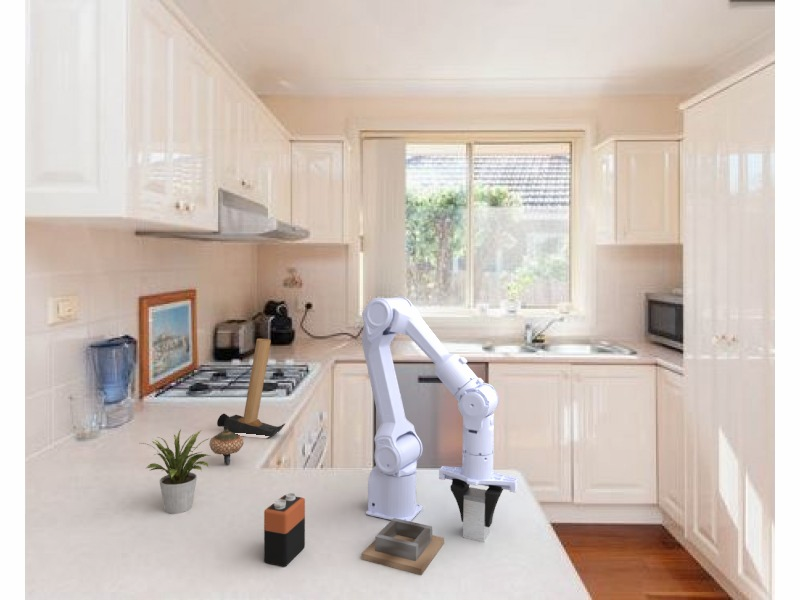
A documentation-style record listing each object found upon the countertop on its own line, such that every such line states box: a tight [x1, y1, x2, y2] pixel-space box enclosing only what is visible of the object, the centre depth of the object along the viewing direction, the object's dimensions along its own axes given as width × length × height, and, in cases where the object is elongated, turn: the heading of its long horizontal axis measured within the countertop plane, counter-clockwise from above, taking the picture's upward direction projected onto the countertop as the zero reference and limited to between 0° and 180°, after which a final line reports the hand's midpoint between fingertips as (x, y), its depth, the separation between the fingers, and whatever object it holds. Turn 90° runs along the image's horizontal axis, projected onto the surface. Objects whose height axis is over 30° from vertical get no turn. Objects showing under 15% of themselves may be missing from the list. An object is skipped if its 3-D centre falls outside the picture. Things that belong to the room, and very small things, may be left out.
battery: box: [263, 492, 306, 567], centre depth 87 cm, size 4×7×10 cm, turn 162°
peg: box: [462, 486, 491, 543], centre depth 95 cm, size 4×4×8 cm
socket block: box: [361, 518, 445, 576], centre depth 89 cm, size 11×11×4 cm
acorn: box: [209, 427, 245, 466], centre depth 129 cm, size 8×8×10 cm
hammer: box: [216, 338, 286, 438], centre depth 154 cm, size 20×5×30 cm, turn 75°
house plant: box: [140, 428, 212, 515], centre depth 103 cm, size 14×14×16 cm
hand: (476, 522), depth 95 cm, fingers closed on peg, 4 cm apart
